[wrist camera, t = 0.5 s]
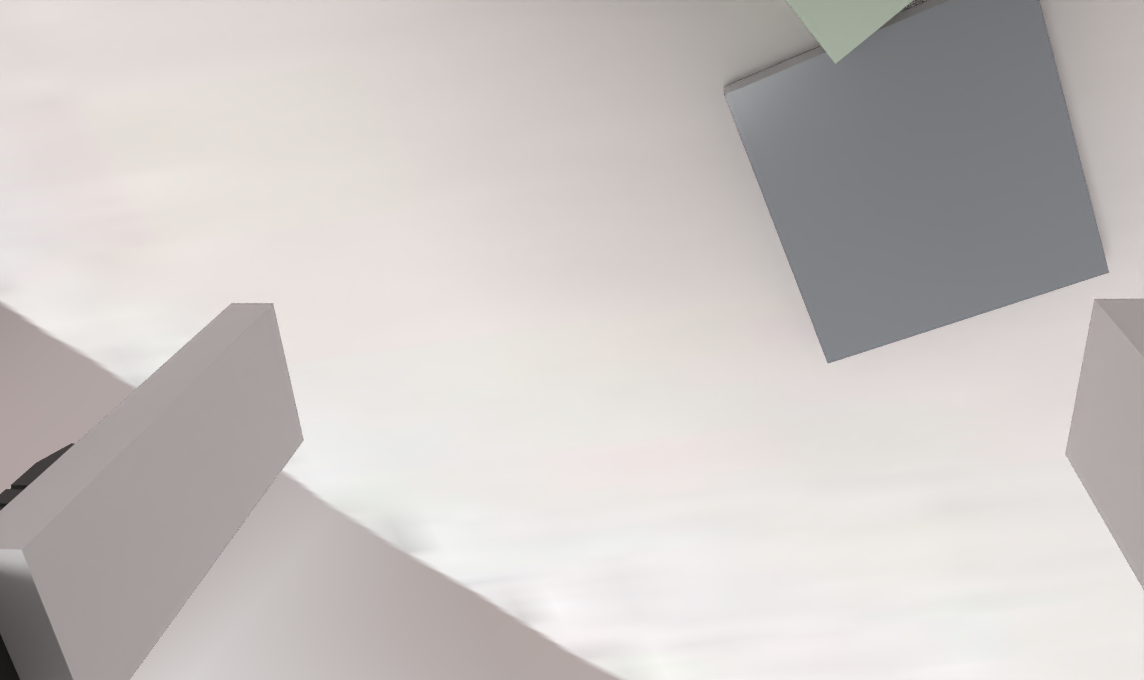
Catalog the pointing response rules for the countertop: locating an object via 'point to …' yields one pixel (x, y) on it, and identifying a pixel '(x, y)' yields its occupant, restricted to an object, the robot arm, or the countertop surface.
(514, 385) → the countertop surface
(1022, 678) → the countertop surface
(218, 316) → the robot arm
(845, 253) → the plate
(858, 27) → the sage block
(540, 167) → the countertop surface
